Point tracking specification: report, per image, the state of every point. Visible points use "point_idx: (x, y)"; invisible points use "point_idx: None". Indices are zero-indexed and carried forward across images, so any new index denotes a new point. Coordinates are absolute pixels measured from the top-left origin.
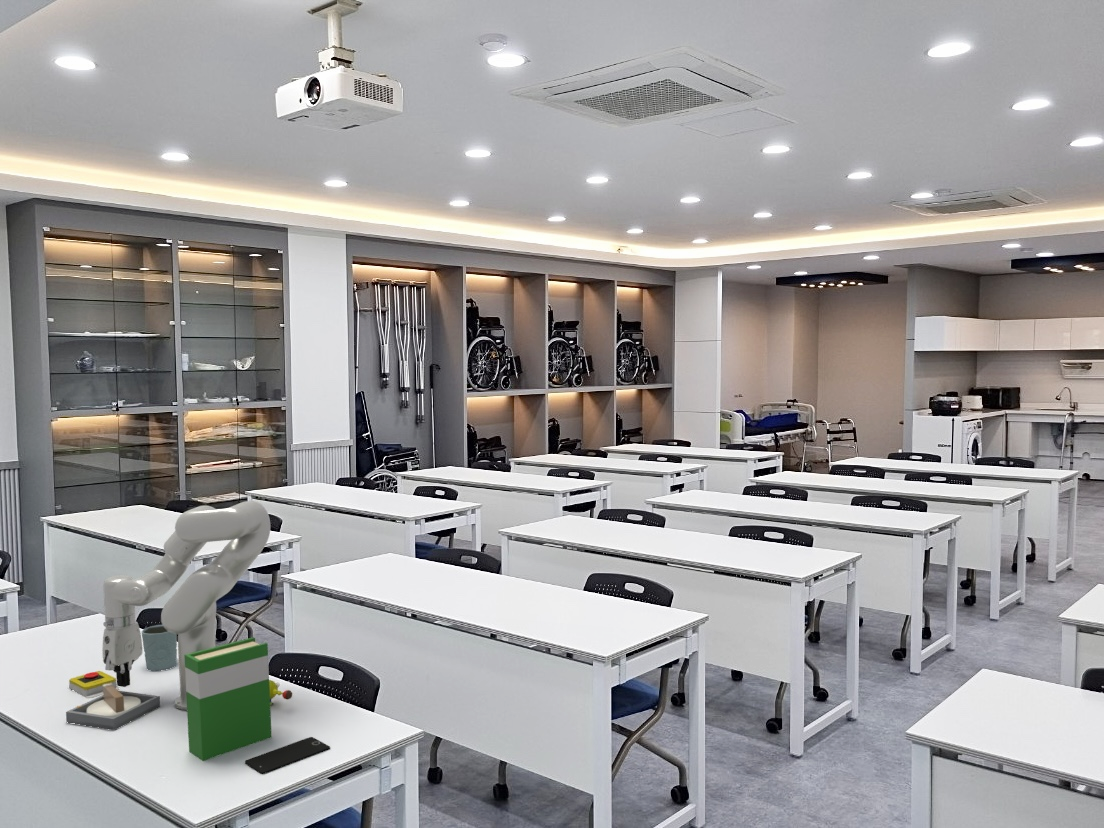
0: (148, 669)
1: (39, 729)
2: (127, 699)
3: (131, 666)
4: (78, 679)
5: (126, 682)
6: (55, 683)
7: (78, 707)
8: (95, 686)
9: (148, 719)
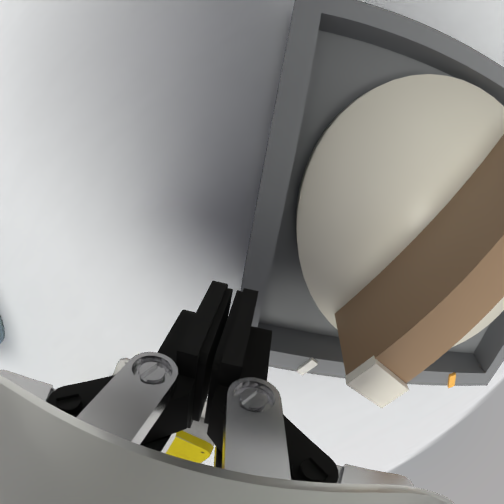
0: (2, 333)
1: (488, 390)
2: (358, 198)
3: (122, 371)
4: None
5: (247, 302)
6: None
7: (458, 376)
8: (180, 432)
9: (451, 13)
